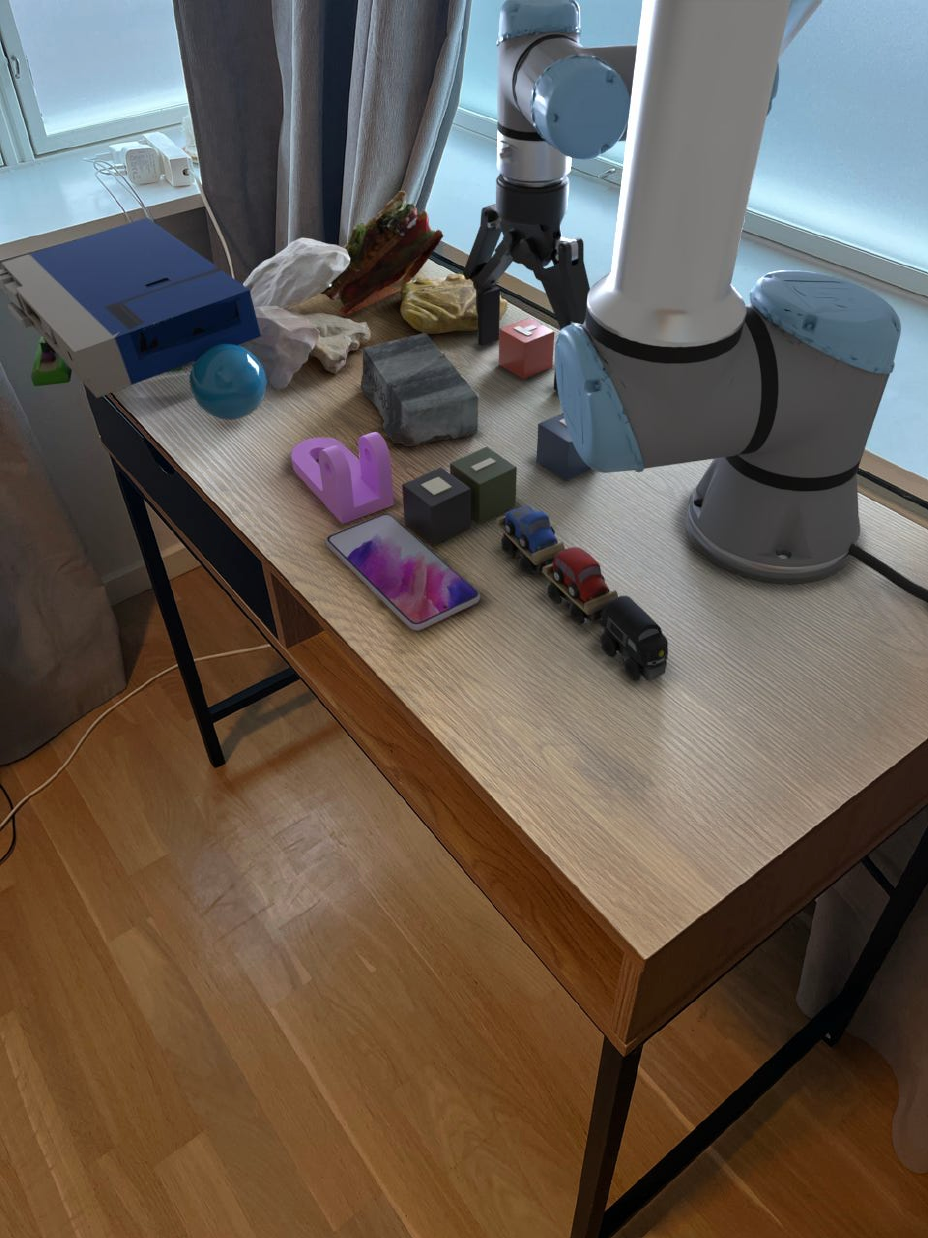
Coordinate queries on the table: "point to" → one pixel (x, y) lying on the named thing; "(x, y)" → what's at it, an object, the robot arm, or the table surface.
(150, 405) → the table surface
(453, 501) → the block
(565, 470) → the block
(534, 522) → the toy train
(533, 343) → the letter block
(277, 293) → the fragment
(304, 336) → the stone tool
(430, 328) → the sculpture
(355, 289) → the sandwich
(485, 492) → the block
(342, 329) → the stone
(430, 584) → the smartphone
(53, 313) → the electronic device
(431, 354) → the stone block
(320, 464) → the bracket
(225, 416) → the ball
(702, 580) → the table surface
